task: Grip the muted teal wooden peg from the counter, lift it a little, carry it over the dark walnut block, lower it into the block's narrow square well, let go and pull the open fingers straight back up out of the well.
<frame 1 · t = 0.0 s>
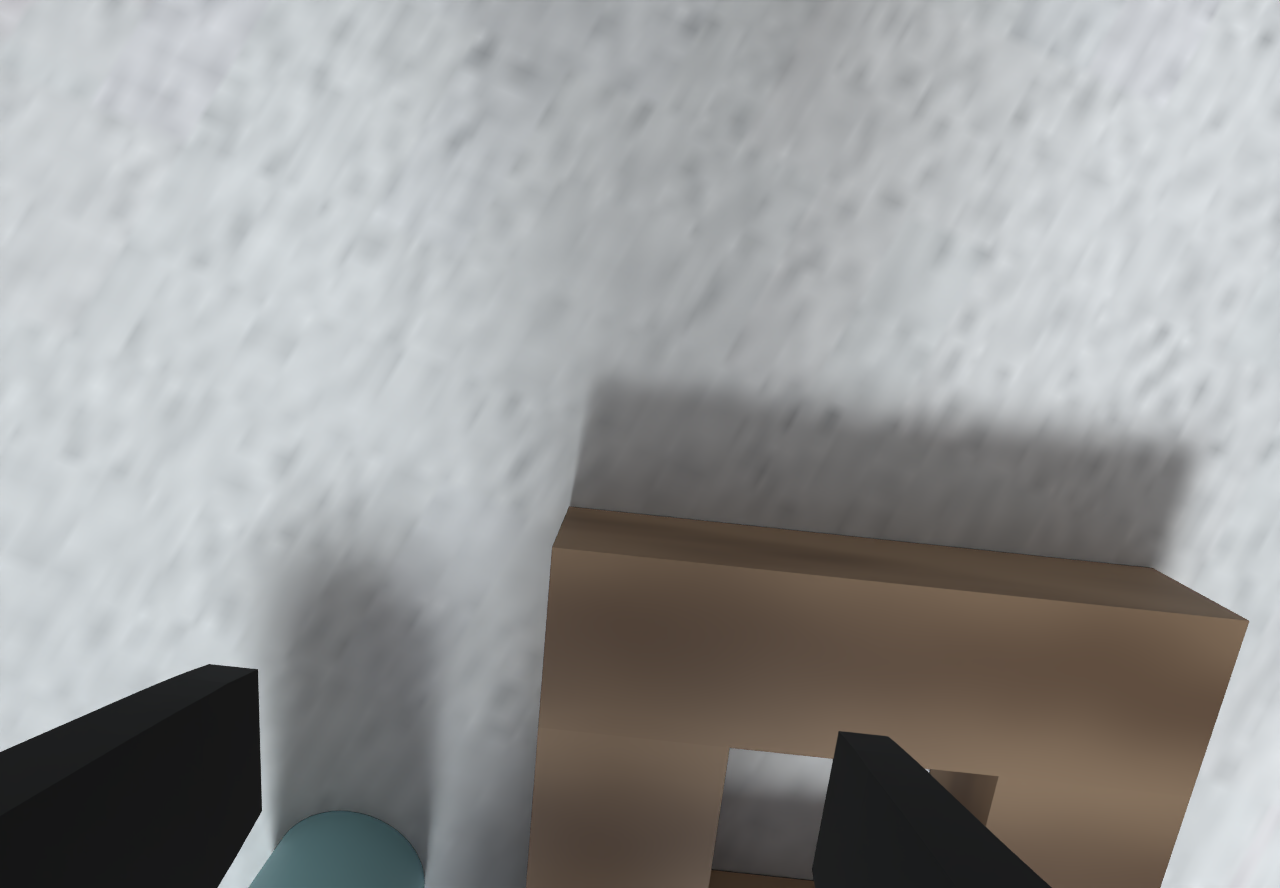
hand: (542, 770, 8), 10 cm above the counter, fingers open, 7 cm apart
teal peg: (349, 875, 21), on the counter
walnut well block: (813, 788, 20), on the counter
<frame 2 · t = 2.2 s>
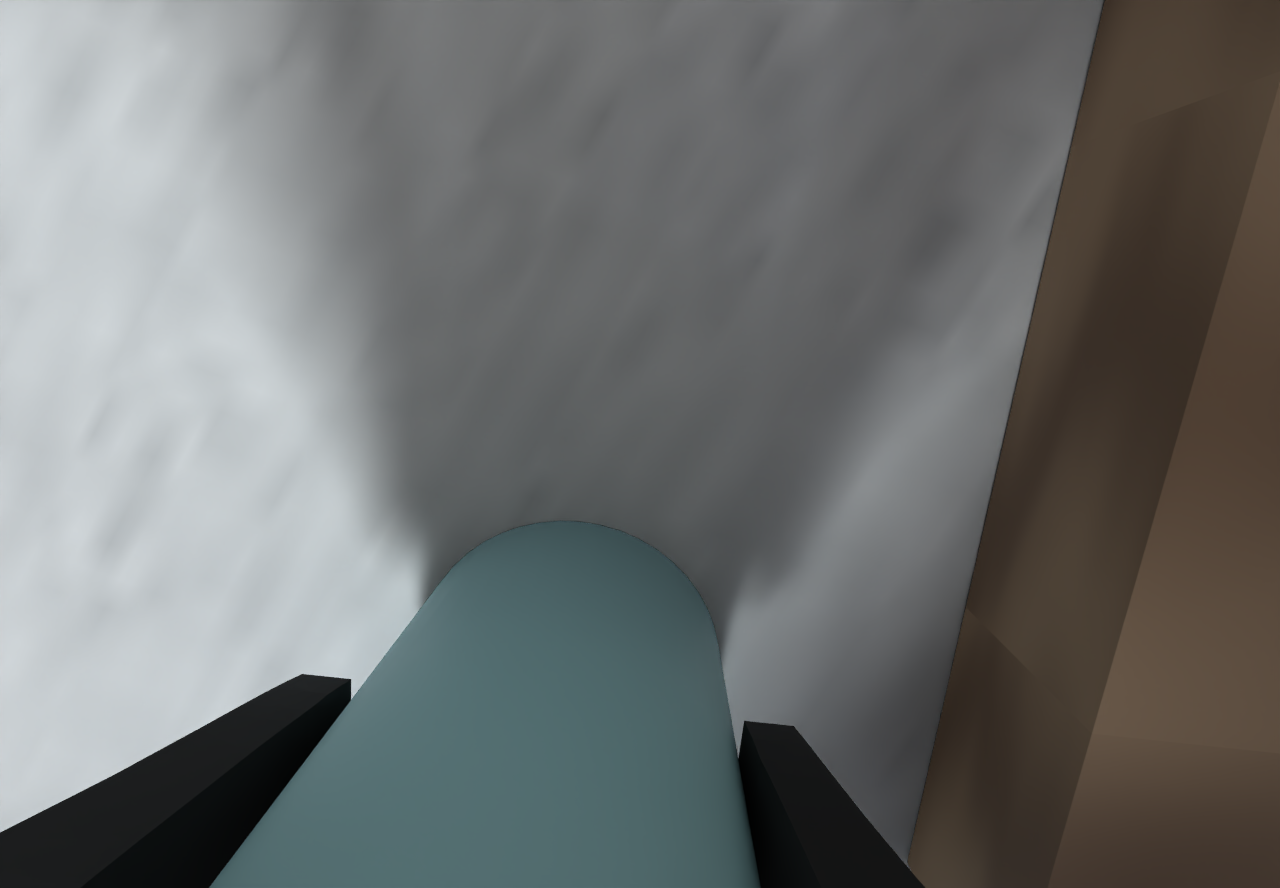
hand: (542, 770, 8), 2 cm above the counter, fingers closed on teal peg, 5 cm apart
teal peg: (568, 663, 11), on the counter, touching gripper
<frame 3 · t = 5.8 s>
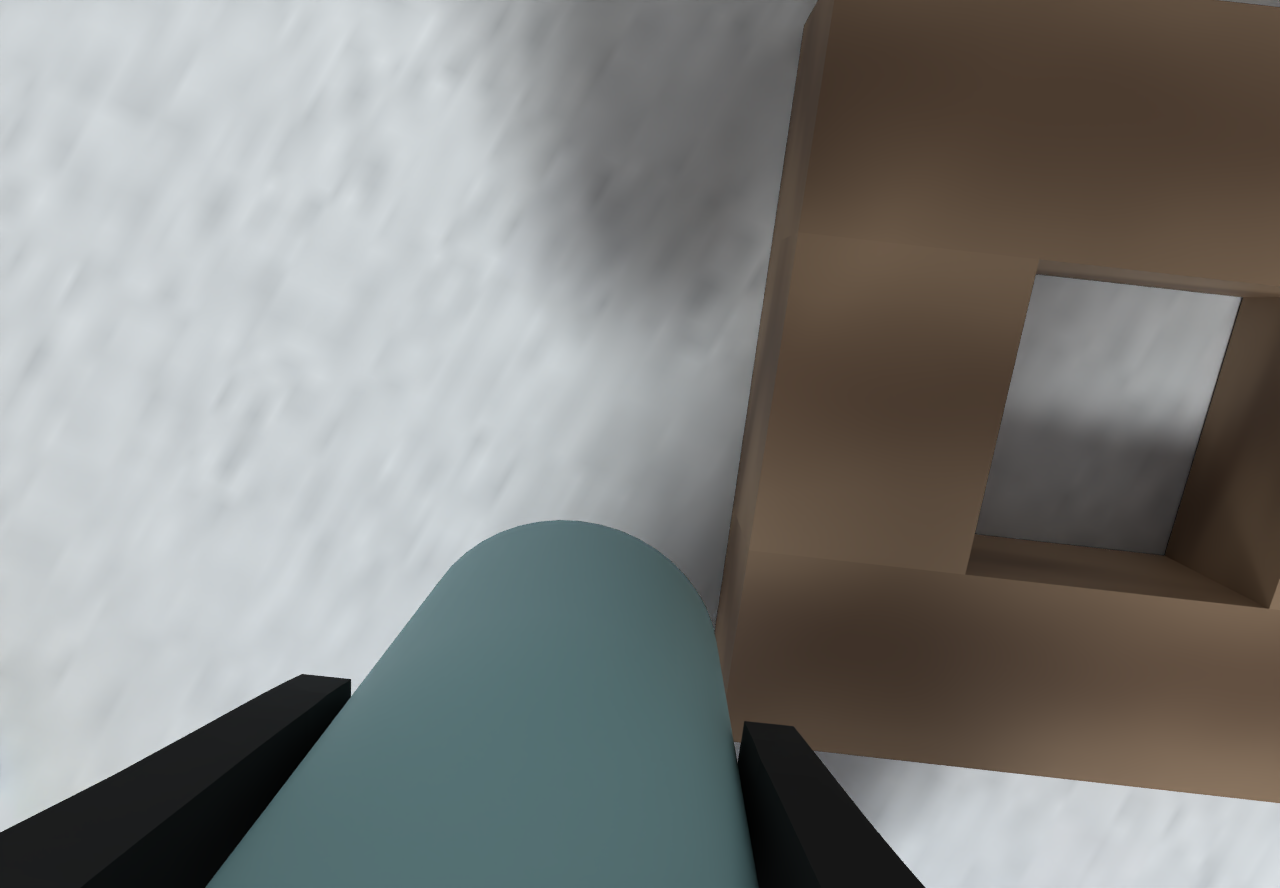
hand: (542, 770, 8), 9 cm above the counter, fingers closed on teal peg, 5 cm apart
teal peg: (567, 663, 11), point 7 cm above the counter, touching gripper
walnut well block: (1070, 417, 16), on the counter
when the fingers open (4 cm above the counter, at t = 9.6 s): teal peg drops 2 cm, resting in walnut well block.
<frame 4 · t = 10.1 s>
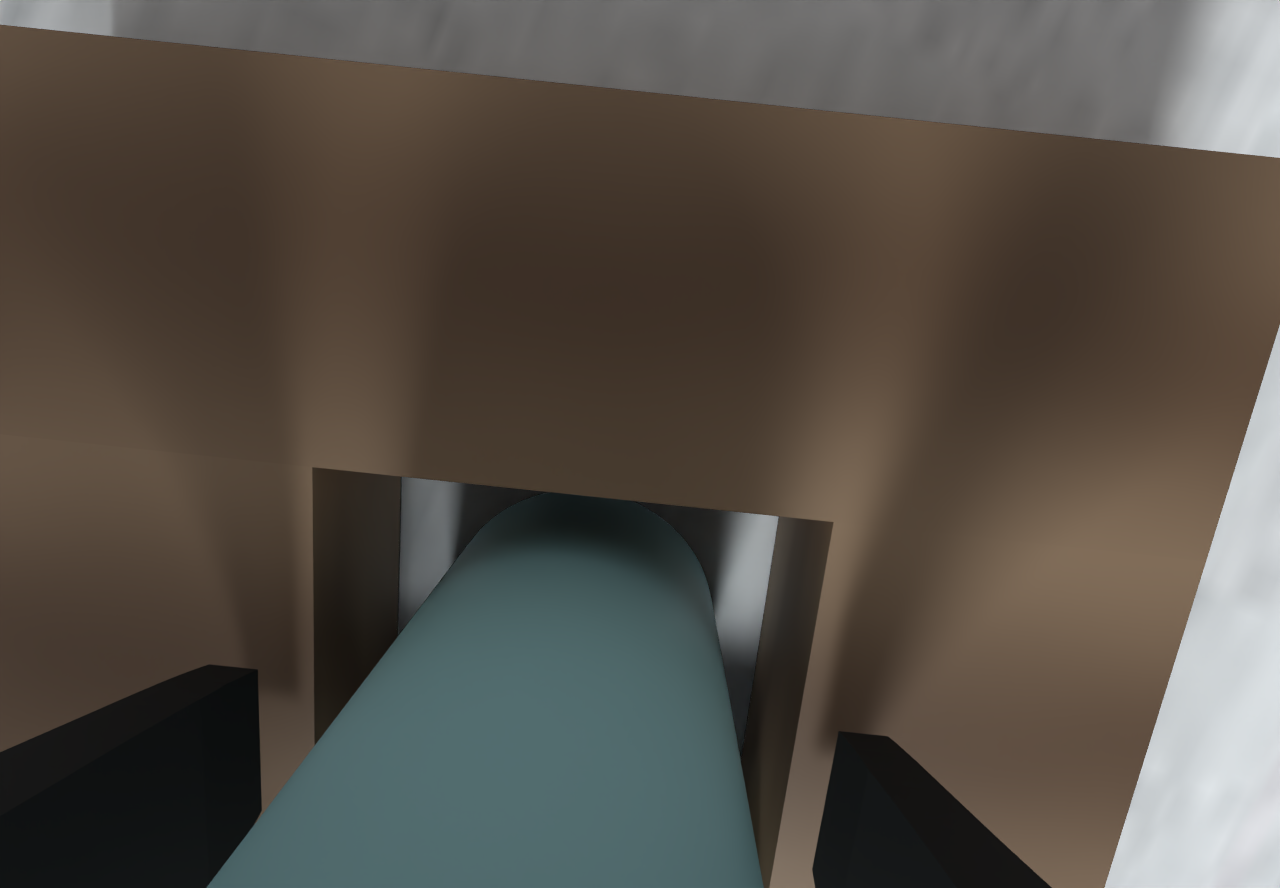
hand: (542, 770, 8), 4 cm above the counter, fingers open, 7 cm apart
teal peg: (580, 616, 12), resting in walnut well block
walnut well block: (578, 619, 12), on the counter
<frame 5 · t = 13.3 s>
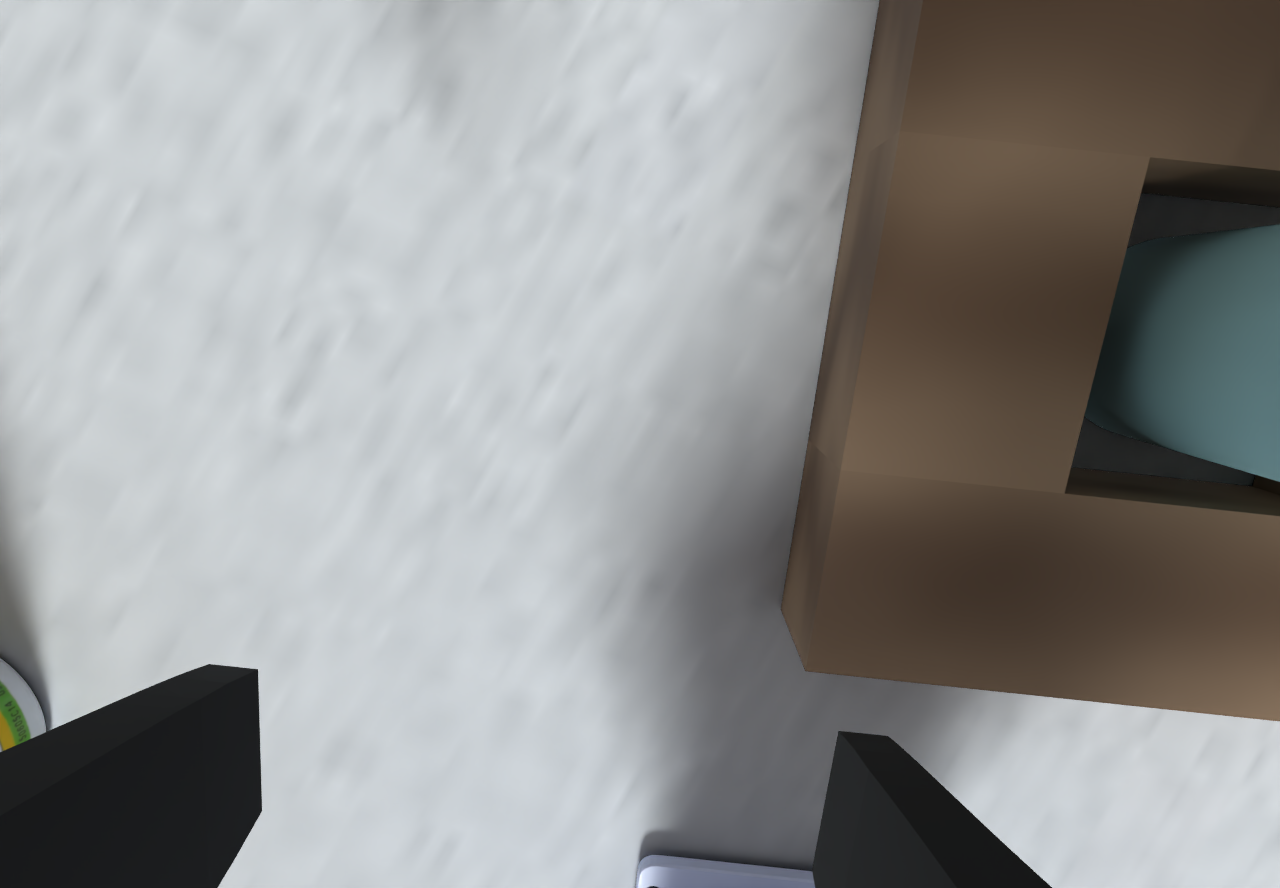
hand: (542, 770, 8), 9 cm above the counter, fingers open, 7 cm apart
teal peg: (1158, 340, 16), resting in walnut well block
walnut well block: (1158, 342, 16), on the counter
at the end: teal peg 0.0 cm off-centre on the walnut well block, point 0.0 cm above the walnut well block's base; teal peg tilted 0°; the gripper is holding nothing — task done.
